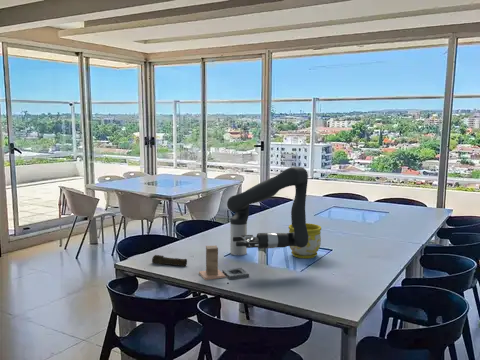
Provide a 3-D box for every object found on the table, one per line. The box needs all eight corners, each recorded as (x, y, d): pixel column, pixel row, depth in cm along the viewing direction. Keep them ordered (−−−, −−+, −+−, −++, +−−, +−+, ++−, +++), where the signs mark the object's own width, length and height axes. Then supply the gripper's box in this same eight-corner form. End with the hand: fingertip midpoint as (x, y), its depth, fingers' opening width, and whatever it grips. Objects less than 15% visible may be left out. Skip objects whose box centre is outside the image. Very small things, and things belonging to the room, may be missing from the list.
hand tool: (187, 265, 234) (187, 256, 233) (184, 267, 230) (184, 258, 229) (154, 262, 239) (154, 253, 239) (151, 264, 236) (151, 255, 235)
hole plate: (222, 272, 222) (222, 269, 221) (241, 270, 225) (241, 267, 225) (229, 279, 212) (229, 276, 212) (249, 276, 216) (249, 273, 216)
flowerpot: (284, 257, 247) (284, 228, 245) (292, 249, 264) (293, 221, 262) (316, 261, 241) (317, 231, 239) (323, 253, 258) (324, 224, 256)
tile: (199, 273, 220) (198, 271, 220) (218, 271, 224) (218, 269, 224) (204, 280, 211) (204, 277, 211) (225, 277, 215) (225, 275, 215)
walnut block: (206, 272, 220) (206, 245, 218) (216, 271, 220) (216, 245, 219) (207, 275, 215) (207, 248, 213) (217, 274, 216) (217, 248, 214)
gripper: (263, 229, 228) (232, 230, 224) (271, 236, 214) (237, 237, 211) (263, 244, 229) (231, 245, 225) (270, 252, 215) (237, 253, 212)
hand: (234, 241), depth 218 cm, fingers open, 8 cm apart
